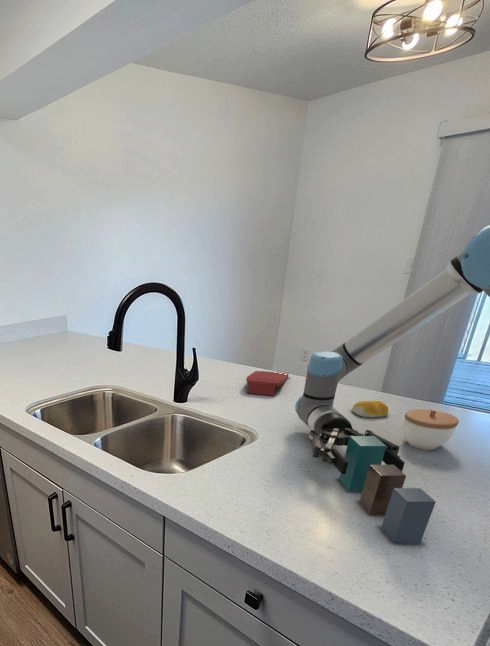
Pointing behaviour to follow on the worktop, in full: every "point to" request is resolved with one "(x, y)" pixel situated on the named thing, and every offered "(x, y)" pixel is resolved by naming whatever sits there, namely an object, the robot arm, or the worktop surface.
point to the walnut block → (380, 487)
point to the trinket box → (428, 428)
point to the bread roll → (370, 409)
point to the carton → (265, 382)
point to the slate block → (407, 515)
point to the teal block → (361, 460)
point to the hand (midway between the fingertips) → (372, 468)
